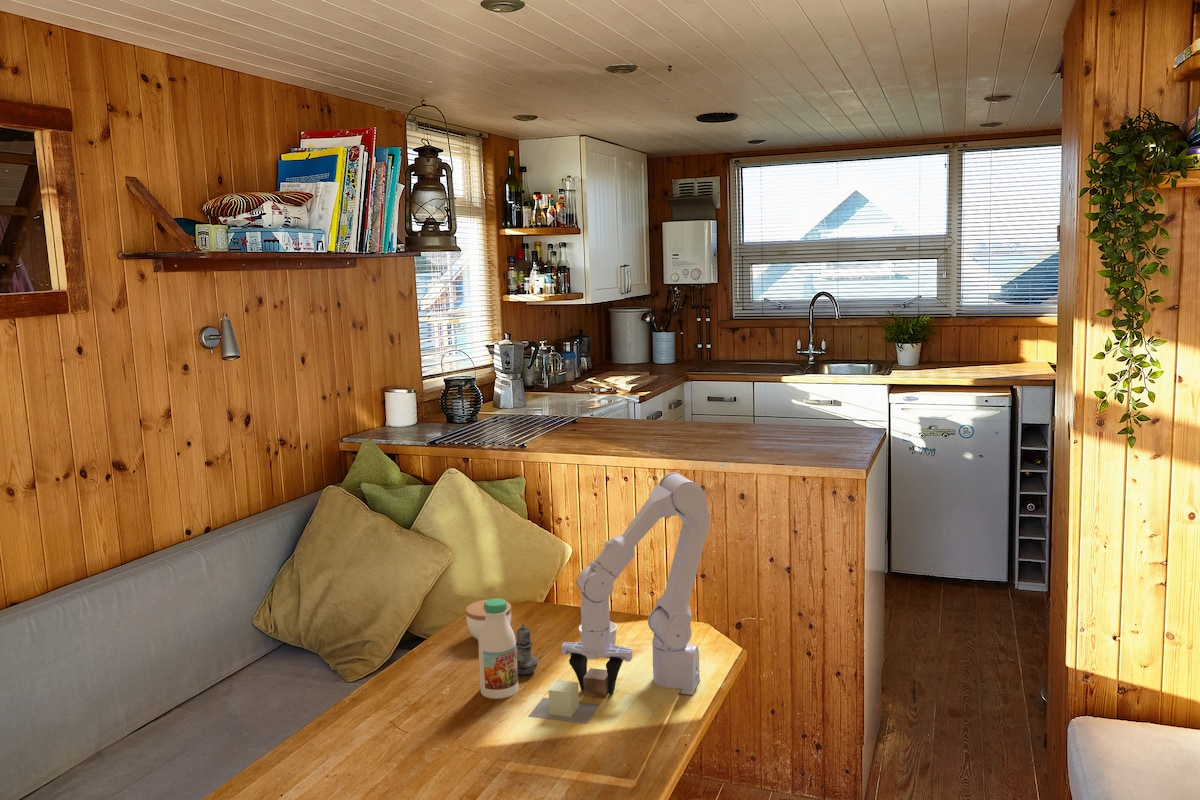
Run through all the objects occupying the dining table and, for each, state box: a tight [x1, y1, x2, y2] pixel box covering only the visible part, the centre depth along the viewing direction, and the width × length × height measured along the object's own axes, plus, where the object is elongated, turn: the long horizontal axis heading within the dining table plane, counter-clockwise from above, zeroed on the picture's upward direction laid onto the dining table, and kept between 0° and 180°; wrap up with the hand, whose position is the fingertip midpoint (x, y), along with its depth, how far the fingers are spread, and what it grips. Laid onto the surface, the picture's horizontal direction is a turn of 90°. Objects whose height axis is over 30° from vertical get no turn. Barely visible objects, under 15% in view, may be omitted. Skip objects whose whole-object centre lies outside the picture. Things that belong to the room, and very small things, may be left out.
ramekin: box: [578, 620, 618, 645], centre depth 217 cm, size 9×9×4 cm
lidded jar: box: [465, 598, 512, 643], centre depth 221 cm, size 11×11×9 cm
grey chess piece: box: [516, 623, 539, 675], centre depth 200 cm, size 6×6×12 cm
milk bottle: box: [478, 598, 519, 700], centre depth 192 cm, size 8×8×20 cm
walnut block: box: [583, 667, 609, 699], centre depth 191 cm, size 4×4×5 cm
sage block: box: [548, 679, 580, 717], centre depth 183 cm, size 4×4×5 cm
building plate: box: [528, 697, 601, 725], centre depth 184 cm, size 12×8×1 cm, turn 72°
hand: (597, 690), depth 191 cm, fingers open, 5 cm apart
